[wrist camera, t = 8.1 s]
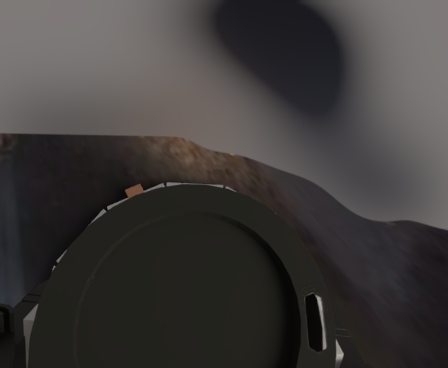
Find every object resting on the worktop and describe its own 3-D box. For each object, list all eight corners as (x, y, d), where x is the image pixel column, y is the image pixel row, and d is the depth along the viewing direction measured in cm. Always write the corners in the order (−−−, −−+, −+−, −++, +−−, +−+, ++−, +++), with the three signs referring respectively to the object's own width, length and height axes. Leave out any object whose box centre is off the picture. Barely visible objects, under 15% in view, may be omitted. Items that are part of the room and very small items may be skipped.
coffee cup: (133, 261, 23) (70, 153, 10) (253, 271, 24) (334, 182, 11) (101, 416, 18) (-101, 580, 5) (253, 422, 19) (399, 581, 6)
